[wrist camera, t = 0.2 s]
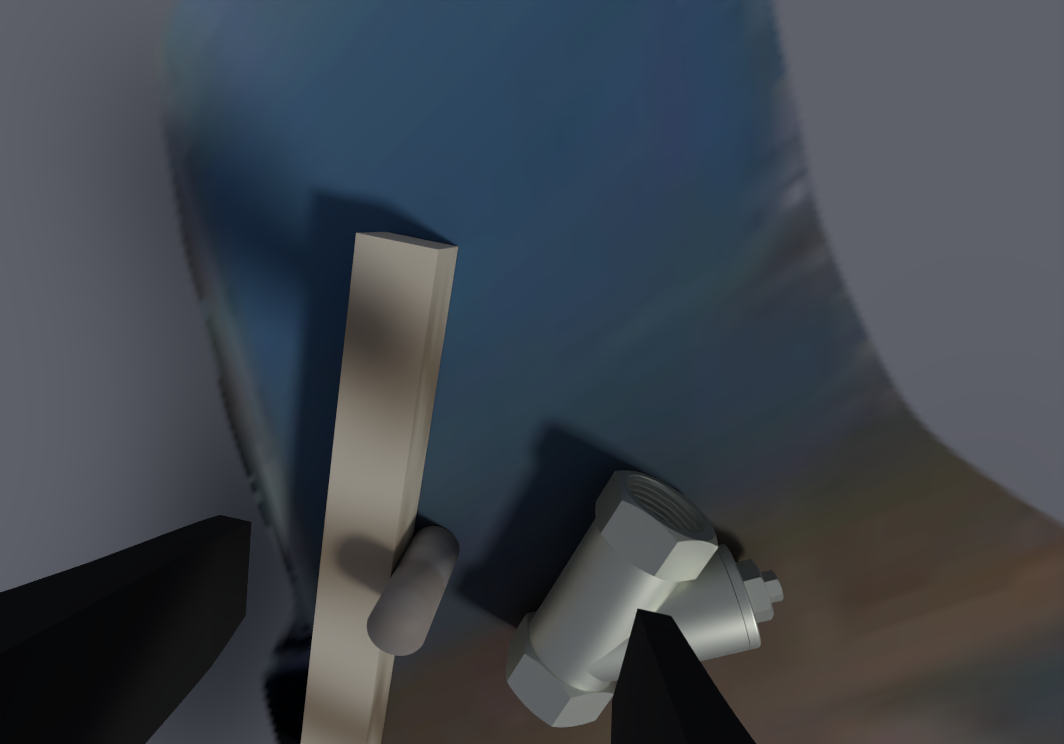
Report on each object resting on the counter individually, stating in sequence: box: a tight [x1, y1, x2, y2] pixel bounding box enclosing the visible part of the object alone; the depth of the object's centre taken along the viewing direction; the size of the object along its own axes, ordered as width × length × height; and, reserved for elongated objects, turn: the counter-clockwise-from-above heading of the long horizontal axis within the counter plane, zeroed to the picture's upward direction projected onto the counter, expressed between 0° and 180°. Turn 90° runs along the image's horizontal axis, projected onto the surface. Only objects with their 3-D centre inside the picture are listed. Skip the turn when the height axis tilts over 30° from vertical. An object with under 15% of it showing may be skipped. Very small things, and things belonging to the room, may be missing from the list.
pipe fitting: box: [506, 470, 783, 727], centre depth 19 cm, size 8×4×7 cm
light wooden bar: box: [301, 232, 459, 744], centre depth 19 cm, size 22×4×4 cm, turn 169°
